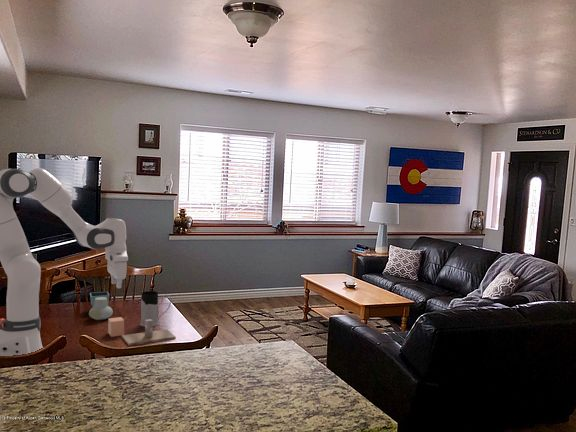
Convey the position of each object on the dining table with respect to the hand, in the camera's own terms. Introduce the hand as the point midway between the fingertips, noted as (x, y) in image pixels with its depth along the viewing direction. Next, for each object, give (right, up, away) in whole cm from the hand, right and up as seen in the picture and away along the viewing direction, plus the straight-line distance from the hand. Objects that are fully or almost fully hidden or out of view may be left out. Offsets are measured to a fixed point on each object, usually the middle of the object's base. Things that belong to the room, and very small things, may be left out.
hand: (116, 285), depth 223 cm
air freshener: (-16, -20, +25) cm, 36 cm away
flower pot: (-21, -18, +38) cm, 47 cm away
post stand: (+15, -22, -3) cm, 27 cm away
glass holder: (+12, -21, +19) cm, 31 cm away
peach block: (-1, -22, +2) cm, 22 cm away
